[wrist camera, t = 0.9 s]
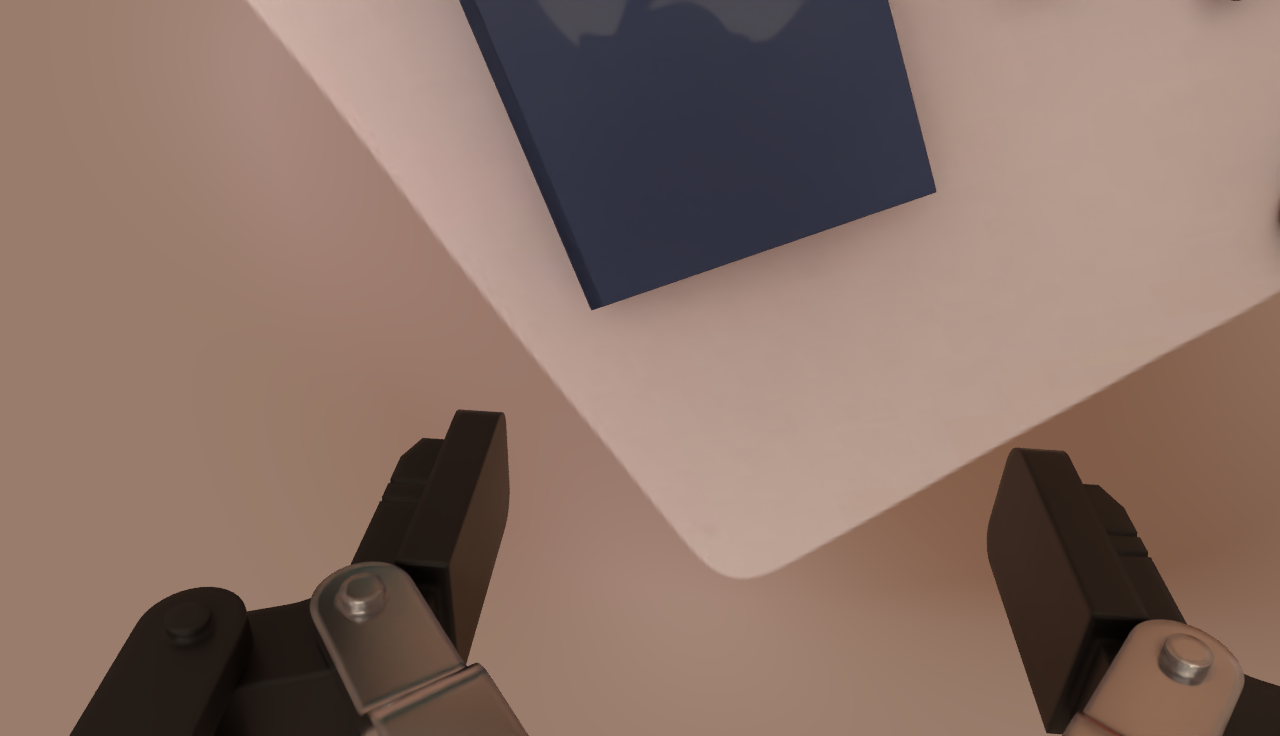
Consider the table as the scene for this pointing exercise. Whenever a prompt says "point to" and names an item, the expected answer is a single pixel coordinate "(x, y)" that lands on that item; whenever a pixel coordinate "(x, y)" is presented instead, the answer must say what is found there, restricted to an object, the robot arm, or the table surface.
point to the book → (702, 125)
